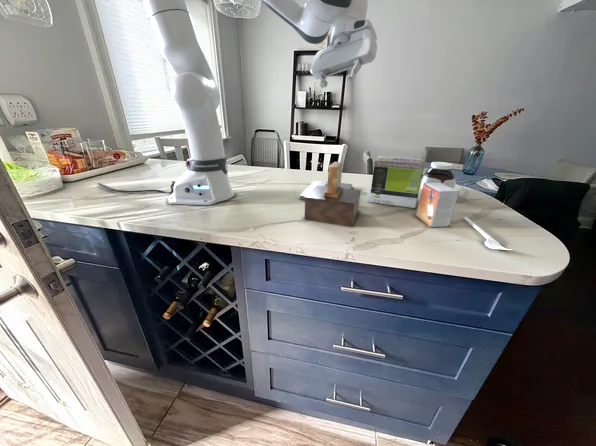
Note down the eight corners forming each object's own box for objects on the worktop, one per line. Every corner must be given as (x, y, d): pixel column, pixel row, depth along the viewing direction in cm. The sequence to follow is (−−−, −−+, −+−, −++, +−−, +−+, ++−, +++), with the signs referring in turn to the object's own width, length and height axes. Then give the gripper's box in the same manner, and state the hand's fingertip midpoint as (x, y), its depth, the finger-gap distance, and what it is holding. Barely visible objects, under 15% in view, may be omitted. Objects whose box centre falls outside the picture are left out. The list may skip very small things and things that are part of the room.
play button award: (300, 195, 87) (314, 180, 104) (300, 199, 88) (314, 184, 105) (345, 200, 83) (352, 184, 100) (345, 204, 83) (352, 187, 101)
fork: (470, 219, 72) (472, 214, 71) (512, 256, 54) (515, 249, 53) (458, 219, 73) (460, 213, 72) (496, 255, 55) (499, 248, 54)
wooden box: (303, 219, 72) (303, 197, 69) (316, 205, 83) (316, 185, 80) (352, 227, 68) (354, 203, 65) (358, 211, 78) (361, 190, 75)
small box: (415, 215, 75) (422, 182, 70) (432, 215, 75) (441, 182, 71) (430, 227, 67) (439, 191, 63) (449, 226, 68) (460, 190, 63)
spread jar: (420, 195, 92) (427, 164, 87) (419, 187, 101) (425, 158, 96) (456, 199, 88) (466, 167, 83) (451, 190, 97) (460, 161, 92)
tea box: (416, 199, 87) (425, 158, 81) (415, 209, 79) (425, 163, 73) (373, 194, 93) (378, 154, 87) (368, 202, 85) (374, 159, 79)
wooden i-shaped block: (324, 196, 70) (325, 166, 66) (330, 189, 76) (331, 161, 72) (337, 198, 69) (340, 167, 65) (342, 190, 74) (345, 162, 71)
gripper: (311, 44, 77) (302, 84, 75) (374, 16, 64) (364, 64, 62) (322, 58, 81) (313, 96, 80) (382, 35, 68) (373, 80, 67)
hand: (336, 82), depth 71 cm, fingers open, 8 cm apart
